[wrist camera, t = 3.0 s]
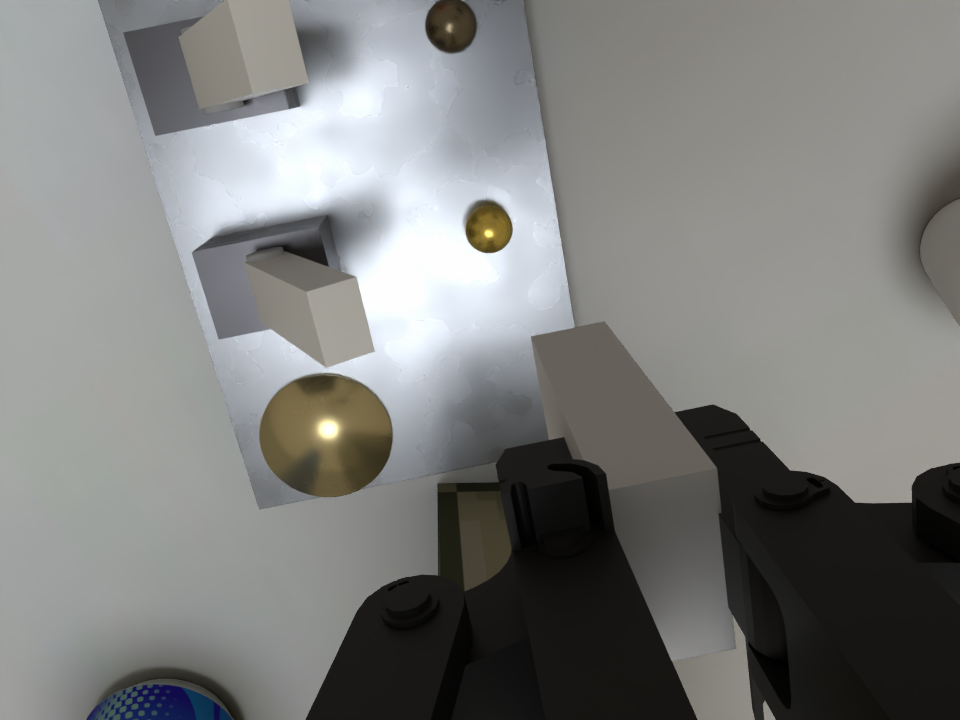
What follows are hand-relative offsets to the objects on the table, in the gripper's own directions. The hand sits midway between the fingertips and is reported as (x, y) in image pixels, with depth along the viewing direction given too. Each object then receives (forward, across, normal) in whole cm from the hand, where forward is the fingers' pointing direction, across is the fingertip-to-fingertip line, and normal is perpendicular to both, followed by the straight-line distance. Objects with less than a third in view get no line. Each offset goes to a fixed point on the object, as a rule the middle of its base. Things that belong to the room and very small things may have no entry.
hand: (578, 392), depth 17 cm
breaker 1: (+17, -9, +8) cm, 21 cm away
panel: (+22, -5, +1) cm, 22 cm away
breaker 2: (+17, -9, 0) cm, 19 cm away
